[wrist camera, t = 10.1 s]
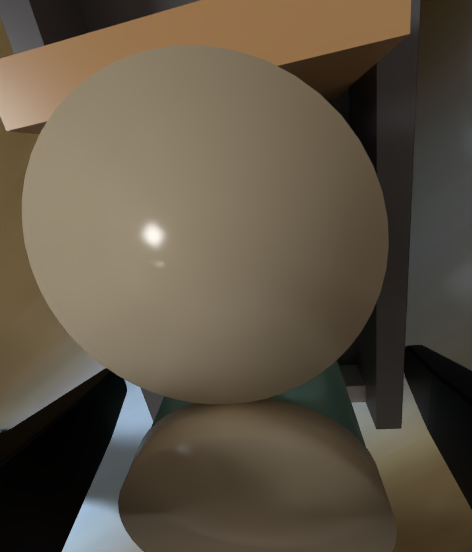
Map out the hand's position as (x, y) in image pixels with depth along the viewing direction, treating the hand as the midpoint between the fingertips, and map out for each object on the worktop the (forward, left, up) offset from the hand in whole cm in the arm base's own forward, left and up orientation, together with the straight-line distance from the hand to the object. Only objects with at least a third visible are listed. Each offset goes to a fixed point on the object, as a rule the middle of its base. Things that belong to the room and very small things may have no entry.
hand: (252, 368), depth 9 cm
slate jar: (+5, 0, -5) cm, 7 cm away
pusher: (+8, 0, -5) cm, 10 cm away
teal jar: (-1, 0, -5) cm, 5 cm away
